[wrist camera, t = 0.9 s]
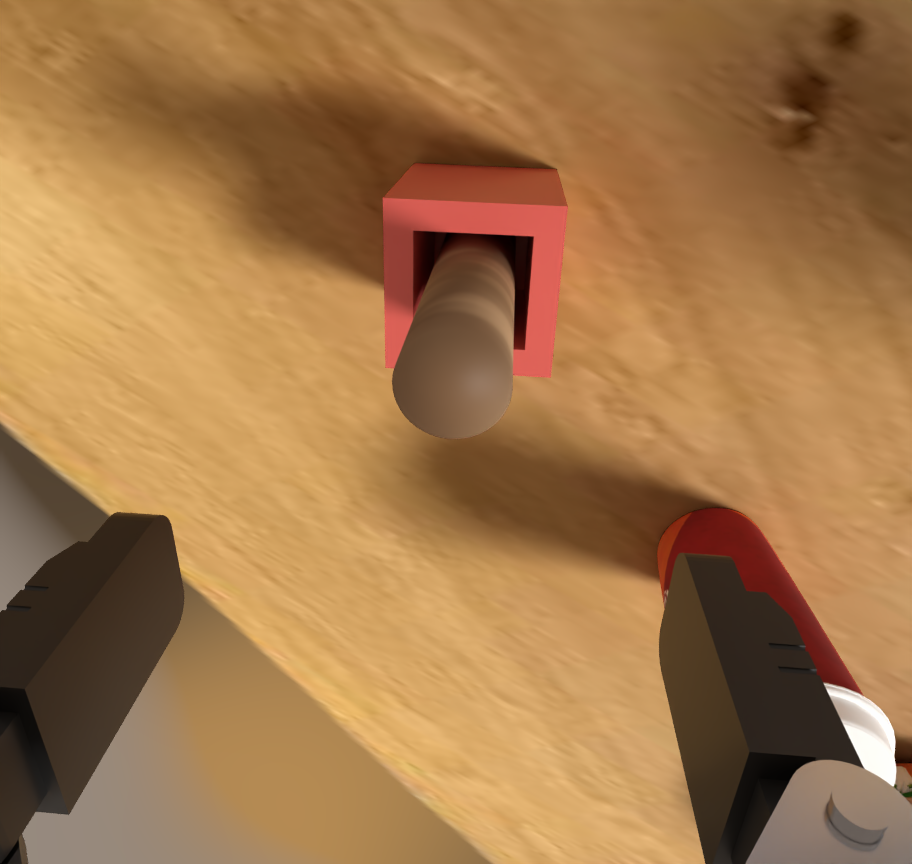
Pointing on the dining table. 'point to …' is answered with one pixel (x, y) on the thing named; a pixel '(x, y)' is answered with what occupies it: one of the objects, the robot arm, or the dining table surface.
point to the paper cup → (767, 574)
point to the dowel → (461, 339)
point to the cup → (481, 212)
